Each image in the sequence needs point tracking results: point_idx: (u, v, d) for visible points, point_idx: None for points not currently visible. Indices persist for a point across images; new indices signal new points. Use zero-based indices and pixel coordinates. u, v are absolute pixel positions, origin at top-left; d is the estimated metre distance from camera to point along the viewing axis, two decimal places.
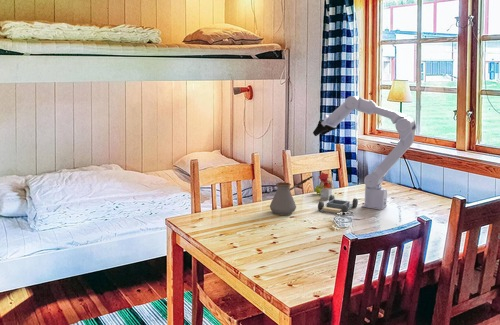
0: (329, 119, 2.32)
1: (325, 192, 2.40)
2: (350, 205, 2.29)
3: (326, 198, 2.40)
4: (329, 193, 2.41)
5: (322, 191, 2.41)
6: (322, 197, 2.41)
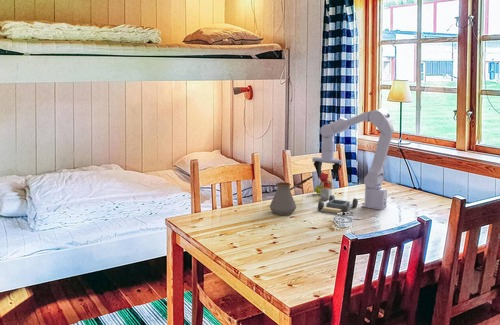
0: None
1: (325, 192, 2.40)
2: (350, 205, 2.29)
3: (326, 198, 2.40)
4: (329, 193, 2.41)
5: (322, 191, 2.41)
6: (322, 197, 2.41)
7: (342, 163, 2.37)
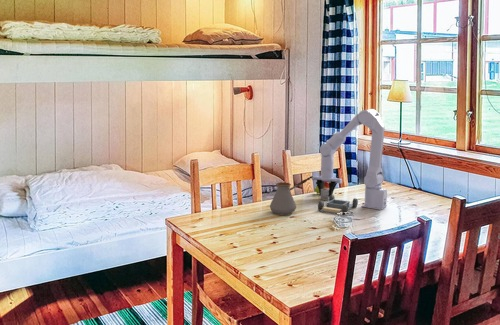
0: None
1: (325, 192, 2.40)
2: (350, 205, 2.29)
3: (326, 198, 2.40)
4: None
5: (322, 191, 2.41)
6: (322, 197, 2.41)
7: (341, 182, 2.38)
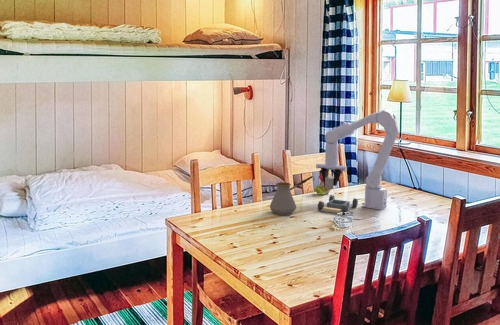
0: None
1: (330, 180, 2.33)
2: (350, 205, 2.29)
3: (331, 186, 2.34)
4: None
5: (326, 179, 2.34)
6: (326, 186, 2.35)
7: (346, 170, 2.31)
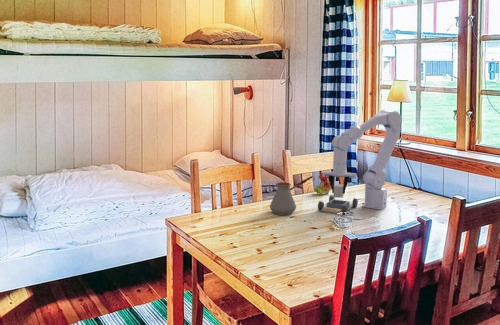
0: None
1: (339, 188, 2.23)
2: (350, 205, 2.29)
3: (340, 195, 2.23)
4: None
5: (335, 188, 2.23)
6: (335, 194, 2.23)
7: None
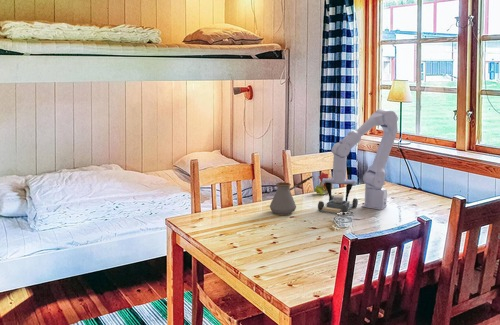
0: None
1: (338, 200, 2.24)
2: (350, 205, 2.29)
3: None
4: (342, 200, 2.24)
5: (335, 199, 2.24)
6: None
7: None
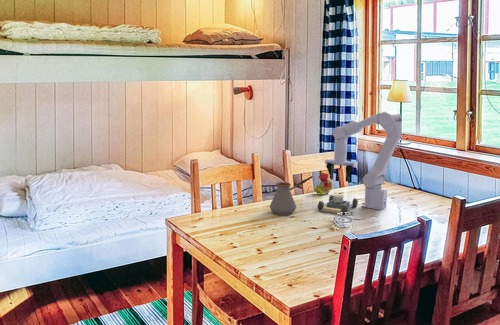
0: None
1: (338, 200, 2.24)
2: (350, 205, 2.29)
3: None
4: (342, 200, 2.24)
5: (335, 199, 2.24)
6: None
7: (355, 165, 2.36)
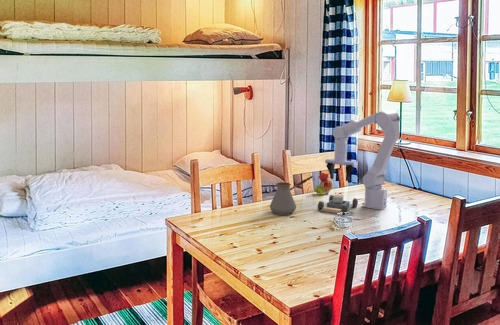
0: None
1: (338, 200, 2.24)
2: (350, 205, 2.29)
3: None
4: (342, 200, 2.24)
5: (335, 199, 2.24)
6: None
7: (355, 165, 2.38)
